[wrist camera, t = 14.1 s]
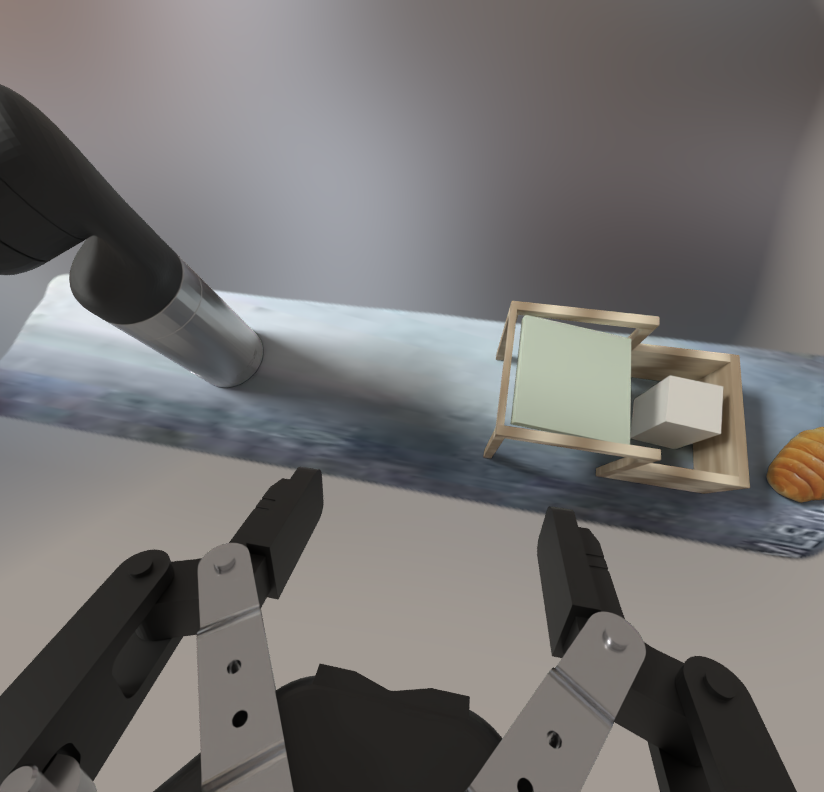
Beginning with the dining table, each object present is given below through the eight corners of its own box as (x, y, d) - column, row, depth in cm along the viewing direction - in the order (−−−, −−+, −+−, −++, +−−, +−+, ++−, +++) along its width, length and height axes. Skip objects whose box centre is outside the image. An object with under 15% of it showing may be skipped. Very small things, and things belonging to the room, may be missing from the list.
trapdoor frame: (483, 457, 46) (496, 434, 35) (496, 353, 50) (511, 300, 39) (703, 493, 43) (800, 481, 31) (698, 379, 47) (782, 330, 35)
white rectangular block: (720, 433, 37) (674, 449, 45) (723, 386, 39) (678, 409, 46) (665, 421, 38) (629, 438, 46) (669, 375, 40) (634, 399, 47)
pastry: (794, 519, 42) (827, 518, 38) (745, 465, 44) (772, 459, 40) (860, 474, 42) (898, 469, 39) (809, 423, 45) (840, 414, 41)
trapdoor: (510, 424, 36) (514, 421, 35) (521, 319, 39) (525, 314, 38) (623, 447, 36) (629, 446, 35) (624, 342, 40) (631, 338, 39)
